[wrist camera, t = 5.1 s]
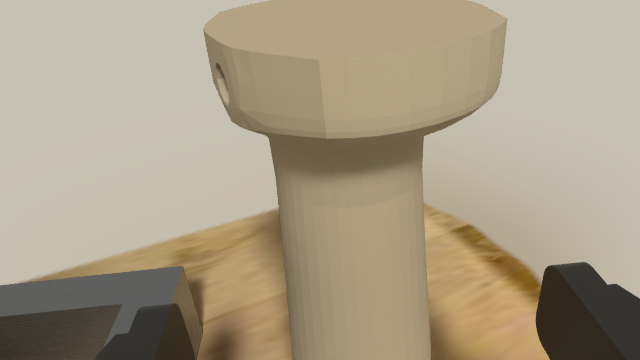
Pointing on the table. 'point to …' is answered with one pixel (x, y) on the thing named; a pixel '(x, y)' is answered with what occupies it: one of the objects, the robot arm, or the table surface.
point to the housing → (86, 312)
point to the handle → (354, 149)
